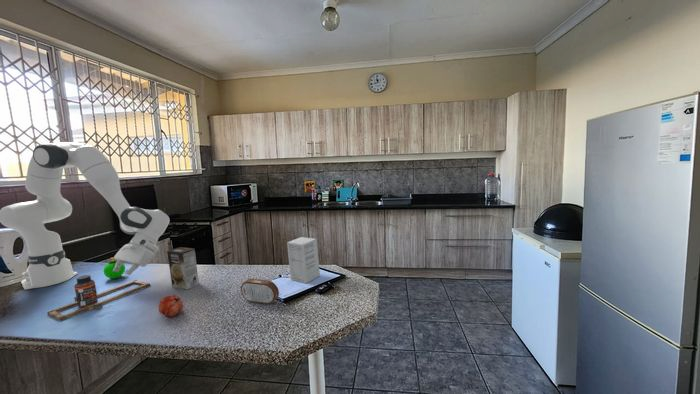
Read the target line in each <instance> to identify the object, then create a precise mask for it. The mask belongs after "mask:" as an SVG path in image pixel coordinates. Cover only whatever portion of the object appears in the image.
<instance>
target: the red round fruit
mask: <svg viewBox="0 0 700 394" xmlns="http://www.w3.org/2000/svg"><path fill="white" fill-rule="evenodd" d="M184 305H185V303H184V301H183V300H182V298H181V297H180V296H179V295H177V294H174V295H173V294H172V295H171V294H170V295H166V296H164V297H163V298H161V300H160V301H159V303H158V306H157V308H158V311H159V313H160V314H161V315H162V316H164V317H165V318H172V317H174V316H176V315H177V314H179V313H181V312H182V310H183V308H184Z"/></svg>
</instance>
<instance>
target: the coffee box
mask: <svg viewBox="0 0 700 394" xmlns="http://www.w3.org/2000/svg"><path fill="white" fill-rule="evenodd" d="M166 253H167V259H168V266H169V273H170V279H171V286H172V288H175V289H183V290H190V289H191V288H193V287H196V286H197V285H199V284H200V283H199V282H200V281H199V275H198V266H197V265H198V264H197V257H196V251H195V248H193V247H191V248H190V247H183V246H180V247H176V248H173V249H170V250H167V252H166Z"/></svg>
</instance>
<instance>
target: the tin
mask: <svg viewBox="0 0 700 394" xmlns="http://www.w3.org/2000/svg"><path fill="white" fill-rule="evenodd" d="M240 291H241V295H242V297H243V298H244V299H245V300H246V301H248V302H252V303H257V304H258V303H259V304H264V305H269V304H270V305H271V304H272V303H274V302H275V301H276V300H277V299H278V298H279V296H280V292H279V291H280V290H279V288H278V286H277V285H276V283H274V282H273V281H272V280H267V279H260V278H248V279H246V280H245V281H243V283H241V286H240Z"/></svg>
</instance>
